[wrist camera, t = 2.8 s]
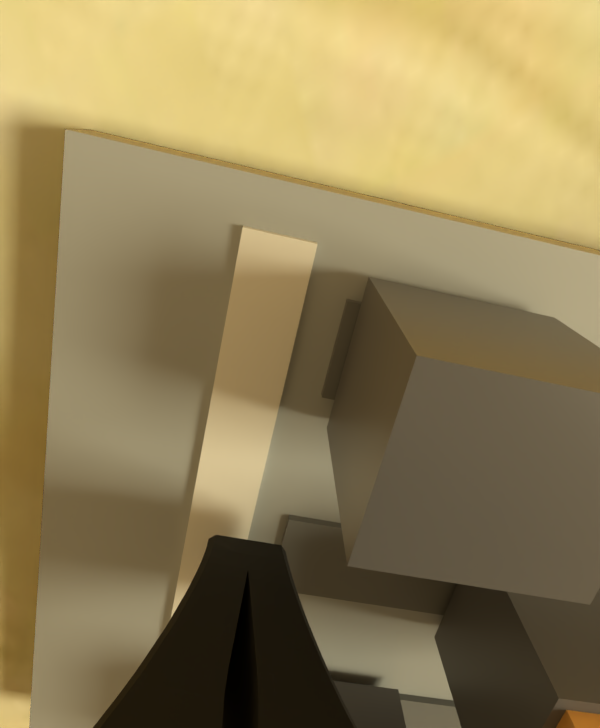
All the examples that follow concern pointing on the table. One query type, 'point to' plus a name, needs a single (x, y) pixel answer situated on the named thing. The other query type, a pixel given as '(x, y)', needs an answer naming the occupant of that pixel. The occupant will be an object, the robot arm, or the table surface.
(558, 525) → the block
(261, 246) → the breaker panel
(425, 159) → the table surface
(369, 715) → the block
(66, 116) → the table surface
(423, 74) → the table surface
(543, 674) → the breaker mid
